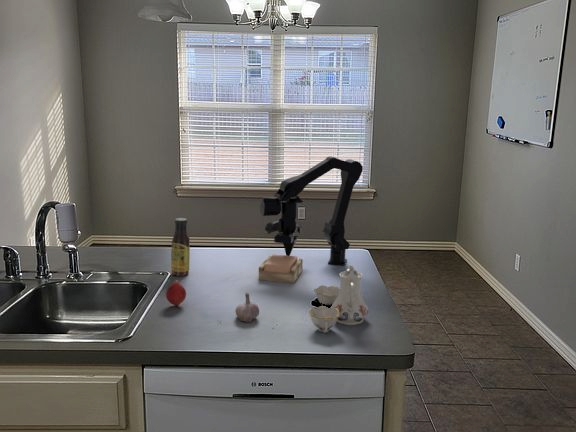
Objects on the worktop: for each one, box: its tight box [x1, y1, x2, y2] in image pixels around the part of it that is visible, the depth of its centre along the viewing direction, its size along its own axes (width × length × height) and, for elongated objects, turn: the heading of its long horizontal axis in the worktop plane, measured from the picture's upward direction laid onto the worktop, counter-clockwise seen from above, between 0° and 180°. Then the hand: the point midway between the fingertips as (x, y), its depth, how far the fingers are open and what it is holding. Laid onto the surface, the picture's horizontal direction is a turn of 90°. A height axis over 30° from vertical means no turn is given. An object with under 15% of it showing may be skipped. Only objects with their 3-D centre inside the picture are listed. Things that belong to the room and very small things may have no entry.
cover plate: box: [264, 254, 298, 273], centre depth 196 cm, size 12×9×2 cm
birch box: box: [258, 255, 304, 284], centre depth 196 cm, size 14×12×4 cm
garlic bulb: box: [235, 292, 260, 323], centre depth 158 cm, size 8×7×8 cm
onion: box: [165, 280, 187, 307], centre depth 166 cm, size 6×6×8 cm
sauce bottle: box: [170, 217, 191, 277], centre depth 193 cm, size 7×6×20 cm
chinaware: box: [308, 264, 369, 334], centre depth 158 cm, size 28×17×17 cm, turn 178°
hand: (288, 256), depth 206 cm, fingers closed
